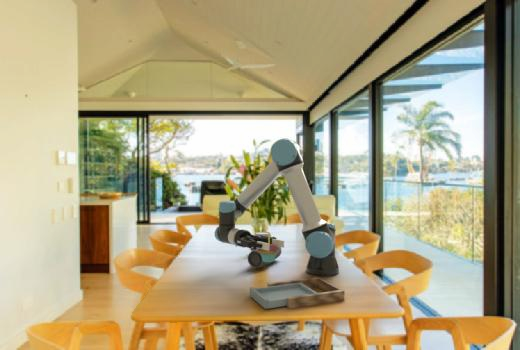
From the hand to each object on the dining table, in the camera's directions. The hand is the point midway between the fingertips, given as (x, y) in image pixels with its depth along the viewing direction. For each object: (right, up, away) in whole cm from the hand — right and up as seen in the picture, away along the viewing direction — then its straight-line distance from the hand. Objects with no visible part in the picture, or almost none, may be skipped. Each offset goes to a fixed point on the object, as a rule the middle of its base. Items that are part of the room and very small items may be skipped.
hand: (276, 245), depth 155 cm
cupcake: (-3, -7, +4) cm, 9 cm away
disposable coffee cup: (-5, -17, +63) cm, 66 cm away
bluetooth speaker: (-4, -17, +40) cm, 44 cm away
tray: (+2, -18, -10) cm, 21 cm away
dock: (+11, -18, -7) cm, 22 cm away
